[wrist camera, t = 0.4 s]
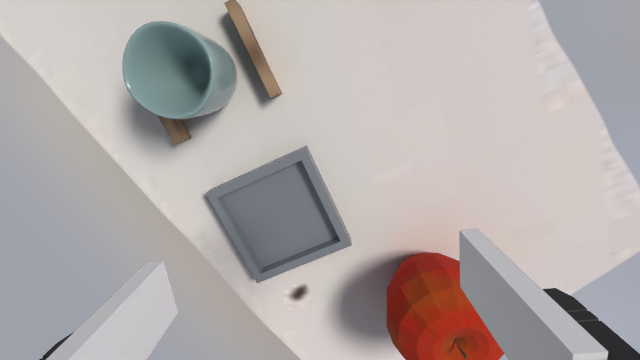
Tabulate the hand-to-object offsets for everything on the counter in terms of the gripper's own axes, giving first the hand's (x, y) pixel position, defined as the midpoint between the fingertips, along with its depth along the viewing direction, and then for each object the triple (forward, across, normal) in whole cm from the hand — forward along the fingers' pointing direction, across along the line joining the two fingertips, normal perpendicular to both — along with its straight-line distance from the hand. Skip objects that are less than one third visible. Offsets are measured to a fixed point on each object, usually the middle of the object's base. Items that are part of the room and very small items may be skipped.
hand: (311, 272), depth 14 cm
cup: (+25, -11, +10) cm, 30 cm away
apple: (+25, +11, -17) cm, 32 cm away
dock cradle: (+25, -6, -7) cm, 26 cm away
